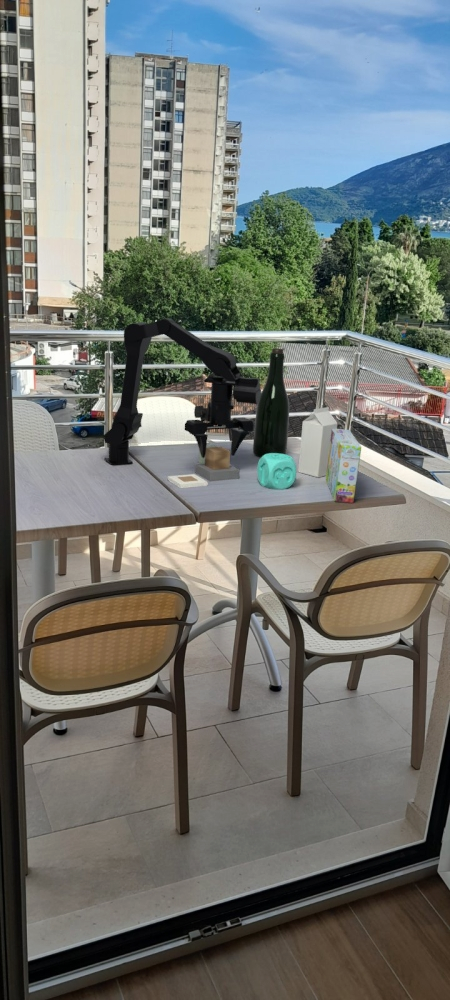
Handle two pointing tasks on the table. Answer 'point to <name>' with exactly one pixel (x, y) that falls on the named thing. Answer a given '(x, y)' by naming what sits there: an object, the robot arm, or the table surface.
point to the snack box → (343, 465)
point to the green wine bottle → (272, 411)
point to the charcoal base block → (217, 473)
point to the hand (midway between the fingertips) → (217, 456)
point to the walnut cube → (217, 458)
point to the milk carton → (316, 442)
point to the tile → (187, 481)
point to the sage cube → (201, 460)
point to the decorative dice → (276, 471)
